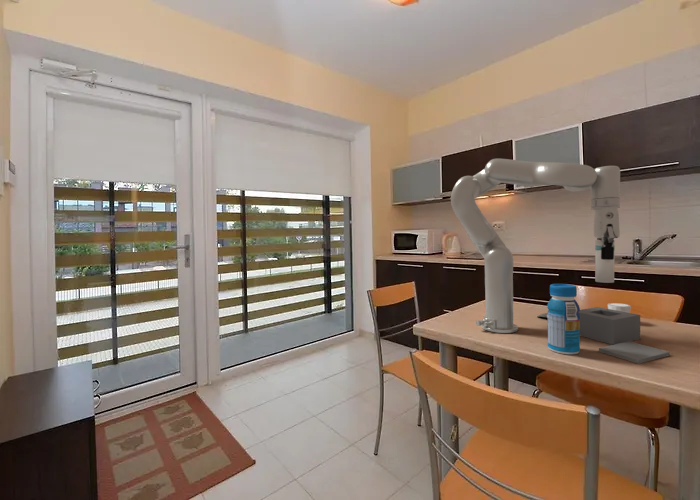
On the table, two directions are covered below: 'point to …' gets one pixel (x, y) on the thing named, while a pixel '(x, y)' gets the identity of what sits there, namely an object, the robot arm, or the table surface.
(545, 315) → the soupspoon
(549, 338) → the beverage bottle
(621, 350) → the rubber mat
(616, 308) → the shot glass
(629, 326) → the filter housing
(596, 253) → the cylinder
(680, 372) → the table surface
